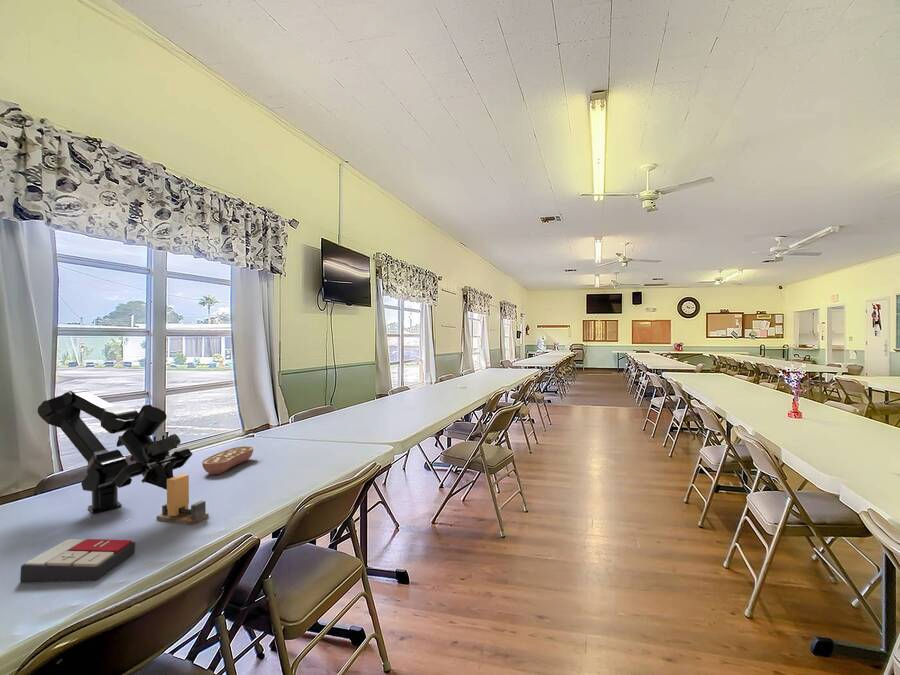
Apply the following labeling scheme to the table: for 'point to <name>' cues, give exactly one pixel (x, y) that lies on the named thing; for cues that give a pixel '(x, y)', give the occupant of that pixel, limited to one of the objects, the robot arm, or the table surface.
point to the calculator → (77, 560)
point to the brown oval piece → (226, 459)
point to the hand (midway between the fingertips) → (173, 490)
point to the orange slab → (177, 493)
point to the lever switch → (186, 514)
